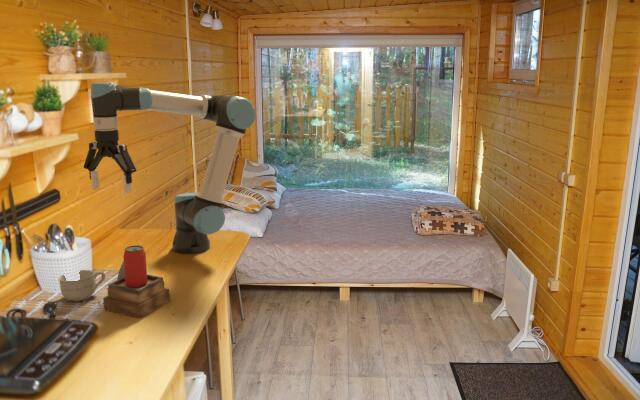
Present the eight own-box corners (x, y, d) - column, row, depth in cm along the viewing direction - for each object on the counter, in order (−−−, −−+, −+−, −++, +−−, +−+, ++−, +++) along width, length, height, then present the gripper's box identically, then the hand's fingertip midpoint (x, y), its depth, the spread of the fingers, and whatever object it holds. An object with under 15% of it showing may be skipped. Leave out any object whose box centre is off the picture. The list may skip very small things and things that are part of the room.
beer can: (135, 290, 169) (132, 253, 166) (120, 285, 173) (118, 249, 170) (151, 283, 175) (149, 247, 172) (137, 278, 178) (135, 243, 175)
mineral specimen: (143, 282, 193) (142, 260, 191) (117, 286, 190) (116, 264, 188) (141, 275, 200) (140, 254, 198) (116, 278, 196) (114, 256, 194)
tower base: (135, 293, 184) (133, 270, 182) (169, 300, 179) (168, 276, 177) (104, 309, 172) (102, 285, 170) (140, 318, 166) (138, 293, 164)
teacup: (62, 307, 173) (59, 283, 171) (60, 294, 182) (57, 271, 180) (109, 299, 179) (107, 276, 177) (104, 287, 189) (103, 265, 187)
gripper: (68, 128, 187) (75, 189, 192) (129, 132, 178) (134, 196, 184) (85, 126, 194) (90, 185, 199) (144, 130, 185) (148, 191, 191)
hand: (111, 190), depth 191 cm, fingers open, 13 cm apart
